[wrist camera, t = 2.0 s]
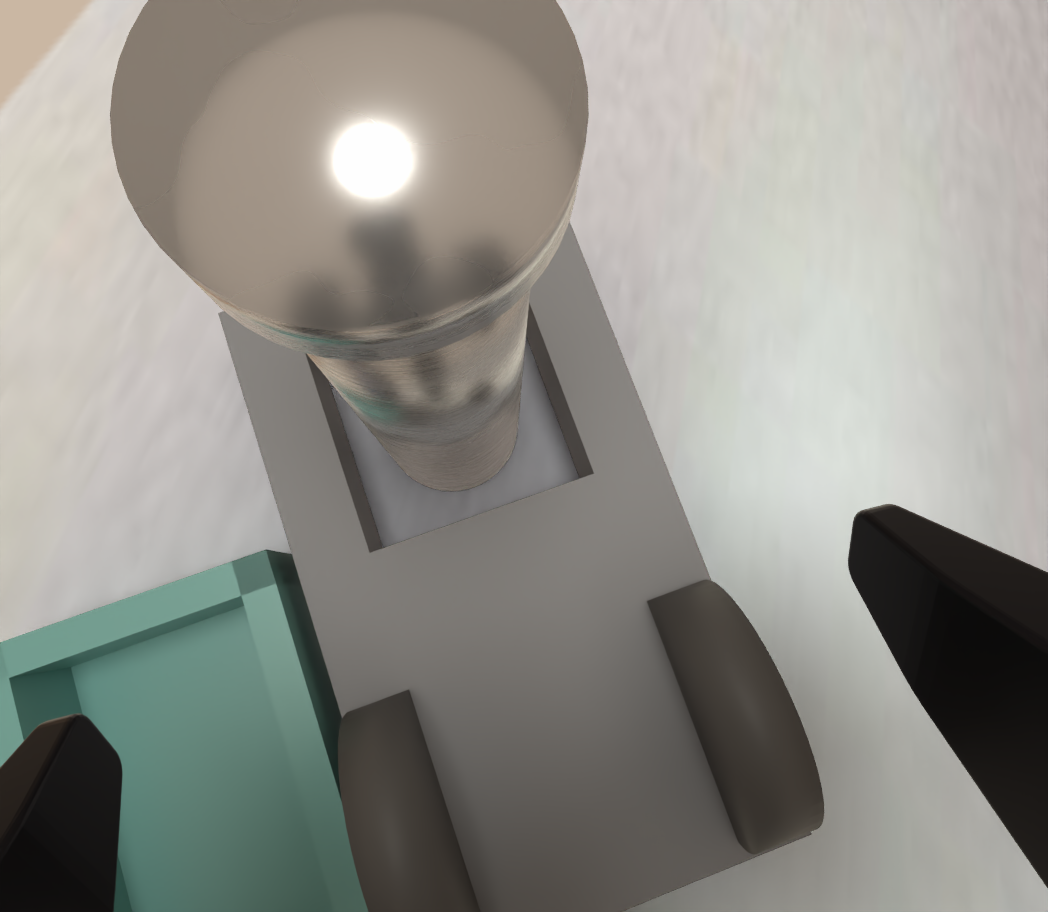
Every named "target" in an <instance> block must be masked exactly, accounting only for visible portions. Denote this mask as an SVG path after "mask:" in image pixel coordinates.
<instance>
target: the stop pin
mask: <svg viewBox="0 0 1048 912" xmlns="http://www.w3.org/2000/svg"><path fill="white" fill-rule="evenodd" d="M110 120H111V136H112V146H113V150H114V155H115V160H116V165H117V169H118V173H119V175H120V178H121V181H122V183H123V186H124V189H125V191H126V194H127V197H128V199H129V201H130V203H131V204H132V206H133V208H134V210H135V212H136V213H137V215H138V217H139V219H140V221H141V222H142V224H143V226H144V227H145V228H146V229H147V231H148V232H149V233H150V235H151V236H152V237H153V239H154V240H155V241H156V243H157V244H158V245H159V247H160V248H161V249H162V250H163V251H164V252H165V253H166V254H167V255H168V256H169V257H170V258H171V259H172V260H173V261H174V262H175V263H176V264H177V265H178V266H179V267H180V268H181V269H182V270H183V271H184V272H185V273H186V274H187V275H188V276H189V277H190V278H191V279H192V280H193V281H194V282H195V283H196V284H197V285H198V286H199V287H200V288H201V289H202V290H203V291H204V292H205V293H206V294H207V295H208V296H209V297H210V298H211V299H212V300H213V301H214V302H215V303H216V304H217V305H218V306H219V307H220V308H221V309H222V310H223V311H225V312H226V313H227V314H229V315H230V316H231V317H233V318H234V319H235V320H237V321H238V322H239V323H241V324H242V325H243V326H245V327H246V328H248V329H250V330H252V331H253V332H255V333H257V334H259V335H261V336H262V337H264V338H266V339H268V340H270V341H272V342H275V343H277V344H280V345H282V346H285V347H288V348H290V349H293V350H295V351H299V352H303V353H307V355H308V356H309V357H310V358H311V360H312V361H313V362H314V363H315V364H316V366H317V367H318V368H319V369H320V370H321V372H322V373H323V374H324V375H325V376H326V378H327V379H328V380H329V381H330V383H331V384H332V385H333V386H334V387H335V389H336V390H337V391H338V392H339V393H340V395H341V396H342V397H343V398H344V400H345V401H346V402H347V403H348V404H349V406H350V407H351V408H352V409H353V410H354V412H355V413H356V414H357V415H358V417H359V418H360V419H361V420H362V421H363V423H364V424H365V425H366V426H367V427H368V429H369V430H370V431H371V432H372V434H373V435H374V436H375V437H376V438H377V440H378V441H379V442H380V443H381V444H382V446H383V447H384V448H385V449H386V450H387V452H388V453H389V454H390V455H391V457H392V458H393V459H394V460H395V461H396V463H397V464H398V465H399V466H400V467H401V469H402V470H403V471H404V472H405V473H406V474H407V475H408V476H410V477H411V478H412V479H414V480H415V481H417V482H419V483H420V484H422V485H424V486H427V487H430V488H433V489H437V490H443V491H460V490H466V489H470V488H473V487H476V486H478V485H480V484H482V483H484V482H486V481H488V480H489V479H490V478H492V477H493V476H494V475H496V474H497V473H498V472H499V471H500V470H501V469H502V467H503V466H504V465H505V463H506V462H507V461H508V459H509V457H510V455H511V454H512V451H513V449H514V446H515V442H516V438H517V430H518V420H519V408H520V397H521V386H522V374H523V363H524V352H525V340H526V329H527V318H528V307H529V295H530V289H531V287H532V286H533V285H534V284H535V282H536V281H537V280H538V278H539V277H540V276H541V275H542V273H543V272H544V271H545V270H546V268H547V266H548V265H549V263H550V261H551V260H552V258H553V256H554V254H555V253H556V251H557V249H558V248H559V246H560V243H561V241H562V238H563V236H564V234H565V231H566V229H567V226H568V224H569V221H570V217H571V213H572V209H573V205H574V201H575V197H576V192H577V186H578V181H579V175H580V170H581V164H582V159H583V154H584V148H585V142H586V133H587V124H588V87H587V82H586V76H585V71H584V65H583V60H582V57H581V54H580V51H579V48H578V45H577V42H576V39H575V36H574V33H573V31H572V29H571V27H570V25H569V23H568V21H567V19H566V17H565V15H564V13H563V11H562V9H561V8H560V6H559V5H558V3H557V2H556V0H149V1H148V2H147V3H146V5H145V6H144V7H143V9H142V11H141V13H140V14H139V16H138V18H137V20H136V22H135V23H134V25H133V27H132V29H131V30H130V32H129V35H128V37H127V40H126V42H125V45H124V48H123V50H122V53H121V55H120V58H119V61H118V66H117V70H116V74H115V78H114V83H113V88H112V99H111V111H110Z"/></svg>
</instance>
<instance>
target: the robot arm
mask: <svg viewBox="0 0 1048 912" xmlns="http://www.w3.org/2000/svg"><path fill="white" fill-rule="evenodd" d="M848 566H849V571H850V575H851V578H852V580H853V582H854V584H855V586H856V588H857V589H858V591H859V593H860V595H861V597H862V599H863V601H864V602H865V604H866V606H867V608H868V610H869V612H870V614H871V615H872V617H873V619H874V621H875V623H876V625H877V627H878V628H879V630H880V632H881V634H882V636H883V638H884V640H885V641H886V643H887V645H888V647H889V649H890V651H891V653H892V654H893V656H894V658H895V660H896V662H897V664H898V666H899V667H900V669H901V671H902V673H903V675H904V676H905V678H906V680H907V682H908V683H909V685H910V687H911V689H912V690H913V692H914V694H915V695H916V697H917V698H918V700H919V701H920V703H921V704H922V706H923V707H924V709H925V710H926V712H927V713H928V715H929V716H930V718H931V719H932V721H933V722H934V723H935V725H936V726H937V728H938V729H939V731H940V732H941V734H942V735H943V737H944V738H945V740H946V741H947V742H948V744H949V745H950V747H951V748H952V750H953V751H954V753H955V754H956V756H957V757H958V758H959V760H960V761H961V763H962V764H963V766H964V767H965V769H966V770H967V772H968V773H969V774H970V776H971V777H972V779H973V780H974V782H975V783H976V785H977V786H978V788H979V789H980V791H981V792H982V793H983V795H984V796H985V798H986V799H987V801H988V802H989V804H990V805H991V807H992V808H993V809H994V811H995V812H996V814H997V815H998V817H999V818H1000V820H1001V821H1002V823H1003V824H1004V825H1005V827H1006V828H1007V830H1008V831H1009V833H1010V834H1011V836H1012V837H1013V839H1014V840H1015V842H1016V843H1017V844H1018V846H1019V847H1020V849H1021V850H1022V852H1023V853H1024V855H1025V856H1026V858H1027V859H1028V860H1029V862H1030V863H1031V865H1032V866H1033V868H1034V869H1035V871H1036V872H1037V874H1038V875H1039V877H1040V878H1041V879H1042V881H1043V882H1044V884H1045V885H1046V887H1047V888H1048V572H1046V571H1043V570H1041V569H1039V568H1037V567H1034V566H1032V565H1030V564H1028V563H1025V562H1023V561H1021V560H1019V559H1016V558H1014V557H1012V556H1010V555H1007V554H1005V553H1003V552H1000V551H998V550H996V549H994V548H991V547H989V546H987V545H985V544H982V543H980V542H978V541H976V540H973V539H971V538H969V537H967V536H964V535H962V534H960V533H958V532H955V531H953V530H951V529H949V528H946V527H944V526H942V525H940V524H937V523H935V522H933V521H931V520H928V519H926V518H924V517H922V516H919V515H917V514H915V513H913V512H910V511H908V510H906V509H904V508H901V507H899V506H896V505H893V504H885V505H881V506H877V507H873V508H869V509H865V510H861V511H860V512H858V513H857V514H856V516H855V517H854V521H853V527H852V534H851V542H850V549H849V557H848ZM122 778H123V771H122V764H121V760H120V757H119V755H118V753H117V752H116V750H115V749H114V748H113V747H112V745H111V744H110V743H109V742H108V741H107V739H106V738H105V737H104V736H103V734H102V733H101V732H100V731H99V730H98V728H97V727H96V726H95V725H94V723H93V722H92V721H91V720H90V719H89V718H88V717H87V716H85V715H83V714H80V713H78V714H76V713H75V714H71V715H67V716H63V717H59V718H56V719H52V720H48V721H45V722H43V723H41V724H40V725H38V726H37V727H36V728H35V729H34V730H33V731H32V732H31V733H30V735H29V736H28V737H27V738H26V739H25V740H24V741H23V742H22V743H21V745H20V746H19V747H18V748H17V749H16V750H15V751H14V752H13V754H12V755H11V756H10V757H9V758H8V759H7V760H6V761H5V763H4V764H3V765H2V766H1V767H0V912H114V902H115V892H116V877H117V860H118V844H119V827H120V811H121V794H122Z"/></svg>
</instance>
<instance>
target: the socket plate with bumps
mask: <svg viewBox="0 0 1048 912" xmlns="http://www.w3.org/2000/svg"><path fill="white" fill-rule="evenodd" d="M218 314H219V317H220V321H221V324H222V327H223V330H224V334H225V337H226V340H227V343H228V347H229V350H230V353H231V357H232V360H233V363H234V366H235V370H236V373H237V376H238V379H239V383H240V386H241V389H242V392H243V396H244V399H245V402H246V406H247V409H248V412H249V415H250V419H251V422H252V425H253V428H254V432H255V435H256V438H257V442H258V445H259V448H260V451H261V455H262V458H263V461H264V464H265V468H266V471H267V474H268V478H269V481H270V484H271V487H272V491H273V494H274V497H275V500H276V504H277V507H278V510H279V513H280V517H281V520H282V523H283V527H284V530H285V533H286V536H287V540H288V543H289V546H290V549H291V553H292V556H293V559H294V563H295V566H296V569H297V572H298V576H299V579H300V582H301V585H302V589H303V592H304V595H305V599H306V602H307V605H308V608H309V612H310V615H311V618H312V621H313V625H314V628H315V631H316V635H317V638H318V641H319V644H320V648H321V651H322V654H323V657H324V661H325V664H326V667H327V670H328V674H329V677H330V680H331V684H332V687H333V690H334V693H335V697H336V700H337V703H338V706H339V710H340V713H341V716H342V721H341V724H340V729H339V737H338V771H339V782H340V791H341V798H342V806H343V812H344V817H345V823H346V829H347V833H348V838H349V843H350V848H351V852H352V856H353V860H354V864H355V868H356V872H357V876H358V879H359V883H360V886H361V890H362V893H363V896H364V900H365V903H366V906H367V909H368V912H622V911H624V910H627V909H629V908H632V907H634V906H637V905H639V904H642V903H644V902H646V901H649V900H651V899H654V898H656V897H659V896H661V895H664V894H666V893H669V892H671V891H674V890H676V889H678V888H681V887H683V886H686V885H688V884H691V883H693V882H696V881H698V880H701V879H703V878H705V877H708V876H710V875H713V874H715V873H718V872H720V871H723V870H725V869H728V868H730V867H732V866H735V865H737V864H740V863H742V862H745V861H747V860H750V859H752V858H755V857H757V856H759V855H762V854H764V853H767V852H769V851H772V850H774V849H777V848H779V847H782V846H784V845H786V844H789V843H791V842H794V841H796V840H799V839H801V838H804V837H806V836H809V835H811V831H814V830H816V829H818V828H819V827H820V826H821V824H822V822H823V817H824V801H823V794H822V788H821V783H820V779H819V774H818V770H817V767H816V763H815V760H814V756H813V753H812V750H811V747H810V744H809V741H808V738H807V736H806V733H805V730H804V728H803V725H802V723H801V720H800V717H799V715H798V713H797V710H796V708H795V706H794V703H793V701H792V699H791V697H790V694H789V692H788V690H787V688H786V686H785V684H784V681H783V679H782V677H781V676H780V674H779V672H778V670H777V668H776V666H775V664H774V662H773V660H772V658H771V656H770V655H769V653H768V651H767V649H766V647H765V646H764V644H763V642H762V641H761V639H760V637H759V636H758V634H757V632H756V631H755V629H754V628H753V626H752V625H751V623H750V622H749V620H748V619H747V617H746V616H745V614H744V613H743V612H742V610H741V609H740V608H739V606H738V605H737V604H736V603H735V601H734V600H733V599H732V598H731V597H730V596H729V594H728V593H726V592H725V591H724V590H723V589H722V588H721V587H720V586H719V585H717V584H716V583H715V582H713V581H711V578H710V576H709V573H708V571H707V568H706V566H705V563H704V561H703V558H702V556H701V553H700V551H699V548H698V545H697V543H696V540H695V538H694V535H693V533H692V530H691V528H690V525H689V523H688V520H687V518H686V515H685V513H684V510H683V507H682V505H681V502H680V500H679V497H678V495H677V492H676V490H675V487H674V485H673V482H672V480H671V477H670V475H669V472H668V469H667V467H666V464H665V462H664V459H663V457H662V454H661V452H660V449H659V447H658V444H657V442H656V439H655V437H654V434H653V432H652V429H651V426H650V424H649V421H648V419H647V416H646V414H645V411H644V409H643V406H642V404H641V401H640V399H639V396H638V394H637V391H636V388H635V386H634V383H633V381H632V378H631V376H630V373H629V371H628V368H627V366H626V363H625V361H624V358H623V356H622V353H621V350H620V348H619V345H618V343H617V340H616V338H615V335H614V333H613V330H612V328H611V325H610V323H609V320H608V318H607V315H606V312H605V310H604V307H603V305H602V302H601V300H600V297H599V295H598V292H597V290H596V287H595V285H594V282H593V280H592V277H591V274H590V272H589V269H588V267H587V264H586V262H585V259H584V257H583V254H582V252H581V249H580V247H579V244H578V242H577V239H576V236H575V234H574V231H573V229H572V226H571V224H570V221H569V224H568V226H567V229H566V231H565V234H564V236H563V238H562V241H561V243H560V246H559V248H558V249H557V251H556V253H555V254H554V256H553V258H552V260H551V261H550V263H549V265H548V266H547V268H546V270H545V271H544V272H543V273H542V275H541V276H540V277H539V278H538V280H537V281H536V282H535V284H534V285H533V286H532V287H531V289H530V295H529V307H528V318H527V329H526V336H527V339H528V341H529V344H530V347H531V349H532V352H533V355H534V357H535V360H536V363H537V365H538V368H539V371H540V373H541V376H542V379H543V381H544V384H545V387H546V390H547V392H548V395H549V398H550V400H551V403H552V406H553V408H554V411H555V414H556V416H557V419H558V422H559V424H560V427H561V430H562V432H563V435H564V438H565V440H566V443H567V446H568V448H569V451H570V454H571V456H572V459H573V462H574V464H575V467H576V470H577V472H578V475H579V478H580V479H577V480H574V481H571V482H568V483H566V484H563V485H560V486H557V487H554V488H551V489H549V490H546V491H543V492H540V493H537V494H534V495H532V496H529V497H526V498H523V499H520V500H518V501H515V502H512V503H509V504H506V505H503V506H501V507H498V508H495V509H492V510H489V511H486V512H484V513H481V514H478V515H475V516H472V517H470V518H467V519H464V520H461V521H458V522H455V523H453V524H450V525H447V526H444V527H441V528H438V529H436V530H433V531H430V532H427V533H424V534H421V535H419V536H416V537H413V538H410V539H407V540H405V541H402V542H399V543H396V544H393V545H390V546H388V547H385V548H383V547H382V544H381V541H380V538H379V534H378V531H377V528H376V525H375V522H374V519H373V516H372V513H371V510H370V507H369V504H368V501H367V498H366V495H365V491H364V488H363V485H362V482H361V479H360V476H359V473H358V470H357V467H356V464H355V461H354V458H353V455H352V452H351V449H350V445H349V442H348V439H347V436H346V433H345V430H344V427H343V424H342V421H341V418H340V415H339V412H338V409H337V406H336V403H335V399H334V396H333V393H332V390H331V387H330V384H329V381H328V379H327V378H326V376H325V375H324V374H323V373H322V372H321V370H320V369H319V368H318V367H317V366H316V364H315V363H314V362H313V361H312V360H311V358H310V357H309V356H308V355H307V353H303V352H299V351H295V350H293V349H290V348H288V347H285V346H282V345H280V344H277V343H275V342H272V341H270V340H268V339H266V338H264V337H262V336H261V335H259V334H257V333H255V332H253V331H252V330H250V329H248V328H246V327H245V326H243V325H242V324H241V323H239V322H238V321H237V320H235V319H234V318H233V317H231V316H230V315H229V314H227V313H226V312H225V311H224V312H221V313H218Z"/></svg>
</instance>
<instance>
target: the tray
mask: <svg viewBox="0 0 1048 912" xmlns="http://www.w3.org/2000/svg"><path fill="white" fill-rule="evenodd" d="M75 713H76V714H78V713H80V714H83V715H85V716H87V717H88V718H89V719H90V720H91V721H92V722H93V723H94V725H95V726H96V727H97V728H98V730H99V731H100V732H101V733H102V734H103V736H104V737H105V738H106V739H107V741H108V742H109V743H110V744H111V745H112V747H113V748H114V749H115V750H116V752H117V753H118V755H119V757H120V760H121V764H122V771H123V778H122V794H121V811H120V827H119V844H118V860H117V877H116V892H115V902H114V912H368V909H367V906H366V903H365V900H364V896H363V893H362V890H361V886H360V883H359V879H358V876H357V872H356V868H355V864H354V860H353V856H352V852H351V848H350V843H349V838H348V833H347V829H346V823H345V817H344V812H343V806H342V798H341V791H340V782H339V771H338V737H339V729H340V724H341V721H342V716H341V713H340V710H339V706H338V703H337V700H336V697H335V693H334V690H333V687H332V684H331V680H330V677H329V674H328V670H327V667H326V664H325V661H324V657H323V654H322V651H321V648H320V644H319V641H318V638H317V635H316V631H315V628H314V625H313V621H312V618H311V615H310V612H309V608H308V605H307V602H306V599H305V595H304V592H303V589H302V585H301V582H300V579H299V576H298V572H297V569H296V566H295V563H294V559H293V556H292V554H288V553H282V552H276V551H271V550H263V551H261V552H258V553H255V554H252V555H249V556H246V557H243V558H241V559H238V560H235V561H232V562H229V563H226V564H223V565H221V566H218V567H215V568H212V569H209V570H206V571H203V572H201V573H198V574H195V575H192V576H189V577H186V578H183V579H180V580H178V581H175V582H172V583H169V584H166V585H163V586H160V587H158V588H155V589H152V590H149V591H146V592H143V593H140V594H138V595H135V596H132V597H129V598H126V599H123V600H120V601H118V602H115V603H112V604H109V605H106V606H103V607H100V608H98V609H95V610H92V611H89V612H86V613H83V614H80V615H77V616H75V617H72V618H69V619H66V620H63V621H60V622H57V623H55V624H52V625H49V626H46V627H43V628H40V629H37V630H35V631H32V632H29V633H26V634H23V635H20V636H17V637H15V638H12V639H9V640H6V641H3V642H0V767H1V766H2V765H3V764H4V763H5V761H6V760H7V759H8V758H9V757H10V756H11V755H12V754H13V752H14V751H15V750H16V749H17V748H18V747H19V746H20V745H21V743H22V742H23V741H24V740H25V739H26V738H27V737H28V736H29V735H30V733H31V732H32V731H33V730H34V729H35V728H36V727H37V726H38V725H40V724H41V723H43V722H45V721H48V720H52V719H56V718H59V717H63V716H67V715H71V714H75Z"/></svg>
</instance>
